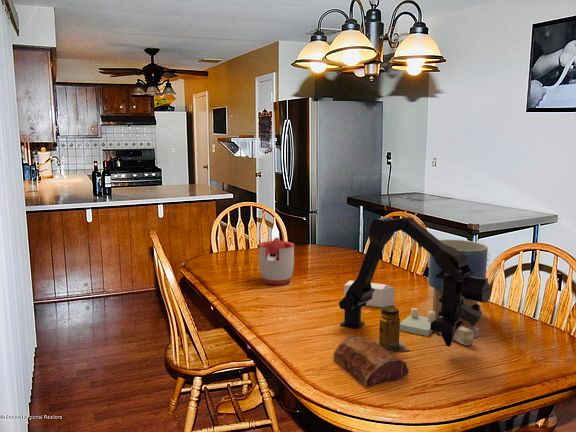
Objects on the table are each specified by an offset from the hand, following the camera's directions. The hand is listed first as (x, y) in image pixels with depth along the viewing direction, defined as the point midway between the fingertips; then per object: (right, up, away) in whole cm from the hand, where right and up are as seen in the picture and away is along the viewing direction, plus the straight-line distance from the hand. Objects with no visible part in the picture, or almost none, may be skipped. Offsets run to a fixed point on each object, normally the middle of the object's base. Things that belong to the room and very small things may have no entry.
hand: (448, 346), depth 152 cm
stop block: (+12, 0, +16) cm, 20 cm away
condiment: (-16, -2, +6) cm, 17 cm away
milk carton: (-24, +9, +51) cm, 57 cm away
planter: (+12, +2, +33) cm, 35 cm away
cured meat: (-25, -4, -5) cm, 25 cm away
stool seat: (-3, +1, +22) cm, 22 cm away
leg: (+5, 0, +13) cm, 14 cm away
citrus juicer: (-53, +9, +76) cm, 93 cm away
